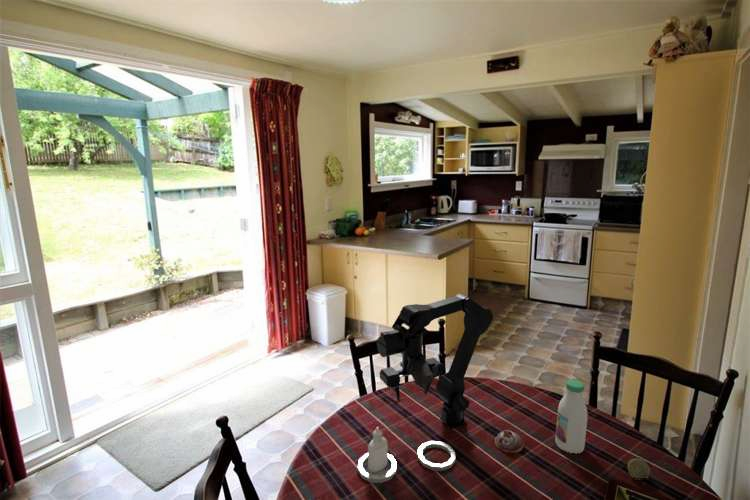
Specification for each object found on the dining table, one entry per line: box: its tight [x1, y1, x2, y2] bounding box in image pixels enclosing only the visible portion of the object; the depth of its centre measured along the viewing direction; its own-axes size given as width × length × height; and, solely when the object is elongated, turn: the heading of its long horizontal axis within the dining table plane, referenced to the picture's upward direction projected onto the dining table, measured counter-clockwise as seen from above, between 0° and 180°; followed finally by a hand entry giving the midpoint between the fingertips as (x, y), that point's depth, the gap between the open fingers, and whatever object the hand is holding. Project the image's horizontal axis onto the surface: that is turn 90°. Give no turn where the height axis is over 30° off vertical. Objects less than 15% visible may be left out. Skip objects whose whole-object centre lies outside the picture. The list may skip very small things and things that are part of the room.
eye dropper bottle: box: [367, 426, 389, 473], centre depth 108 cm, size 4×6×12 cm
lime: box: [627, 457, 651, 480], centre depth 105 cm, size 4×5×5 cm
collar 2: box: [417, 440, 457, 472], centre depth 113 cm, size 10×10×1 cm
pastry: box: [494, 429, 524, 454], centre depth 117 cm, size 8×8×5 cm
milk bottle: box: [554, 379, 588, 455], centre depth 115 cm, size 8×8×20 cm
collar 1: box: [357, 452, 398, 484], centre depth 109 cm, size 10×10×1 cm
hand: (411, 397), depth 120 cm, fingers open, 9 cm apart
